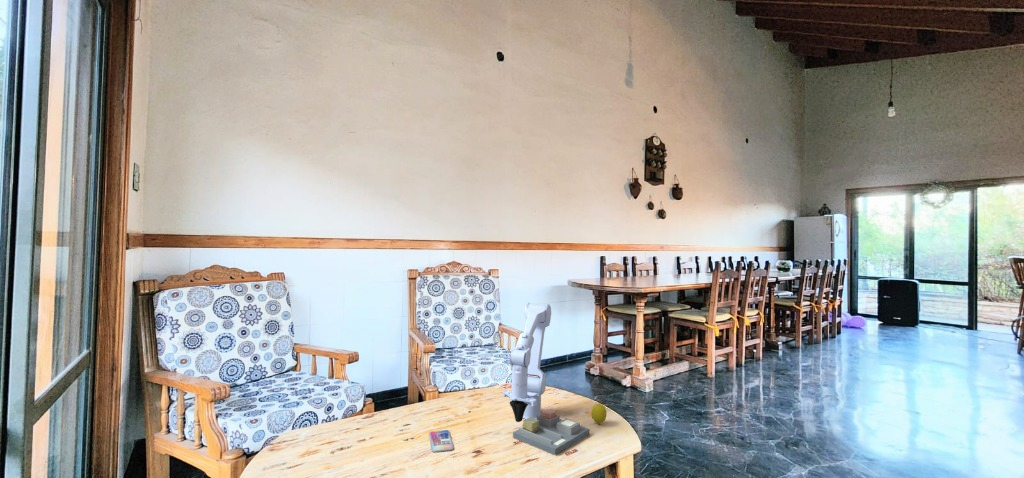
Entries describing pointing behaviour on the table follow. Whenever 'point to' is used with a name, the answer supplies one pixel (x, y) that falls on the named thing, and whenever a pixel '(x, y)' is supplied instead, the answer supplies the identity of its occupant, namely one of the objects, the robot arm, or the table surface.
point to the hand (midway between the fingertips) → (518, 421)
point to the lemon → (599, 413)
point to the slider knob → (531, 425)
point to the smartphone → (440, 441)
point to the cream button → (568, 423)
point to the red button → (548, 414)
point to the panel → (552, 435)
